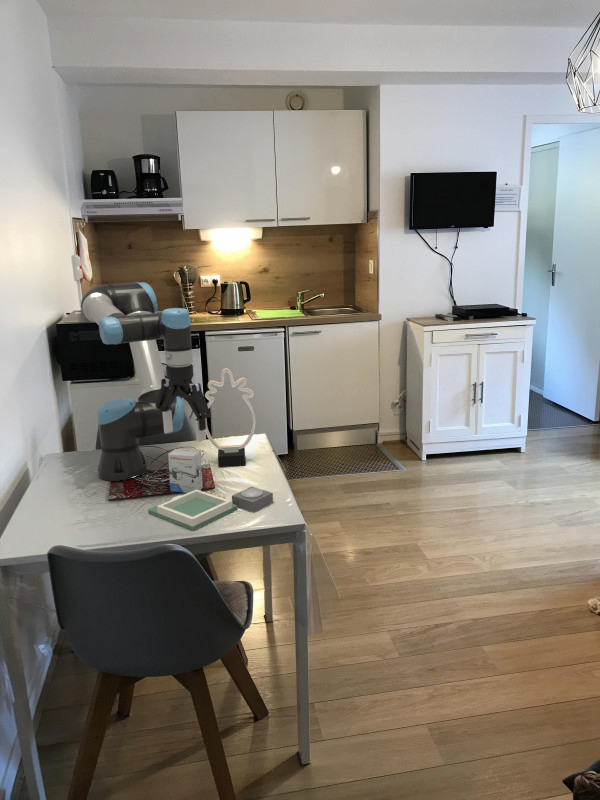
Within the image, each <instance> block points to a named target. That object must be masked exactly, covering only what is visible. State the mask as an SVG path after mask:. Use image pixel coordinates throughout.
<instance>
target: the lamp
mask: <svg viewBox="0 0 600 800" xmlns="http://www.w3.org/2000/svg"><path fill="white" fill-rule="evenodd" d="M226 373H227V374H228V377H229V379H230V380H229V381H230V385H231V388H235V387H237V386H238V385H239V386H238V387H237V390H238V391H239V392H240V391H241V392H246V393H248V394H243V395H241V398H242V400H243V401H244V402H245V404H246V405H247V406H248V408H249V410H250V412H251V417H252V425H251V429H250V432H249V435H248V437H247V438H246V440H245V441H244V442H243V443H242V444H236V445H235V444H234V445H220V444H219V443H217V442H216V441H215V439H214V438H213V437H212V435H211V433H210V431H209V428H208V422H207V418H206V419H205V421H206V429H205V436H206V437H207V438H208V440H209V441H210V443H211V445H213V447H215V448H216V449H217V463H218V466H217V467H218V469H219V468H222V469H223V468H234V467H235V468H236V467H237V468H238V467H246V466H247V465H246V463H247V461H246V449H245V448H246V446H248V444H249V443H250V442H251V440H252V438H253V435H254V432H255V430H256V424H257V423H256V420H257V419H256V413H255V409H254V407H253V405H252V404H251V402H250V400H249V399H252V398H253V397H254V395H255V392H254V390H253V389H251V388H249V387H246V385H247V384H248V380H247V377H244V376H243V377H240V378H238V379H237V380H235V379H234V378H235V377H234V374H233V372H232V370H231V369H230V368H228V367H224V368H223V369H221V372H220V381H217V380H213V379H212V380H209V381H208V383H207V388H208V389H209V390H207V391H206V392H205V394H204V398H206V399H207V400H208V402H207V406H208V408H209V409H210V408H211V405H212V404H213V403H214V401H215V397H214V396H211V395H212V394H217V392H218V390H217V388H216V387H220V388H222V387H223V386H224V384H225V374H226ZM213 385H214V386H216V387H214V386H213ZM205 414H206V413H205Z"/></svg>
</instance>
